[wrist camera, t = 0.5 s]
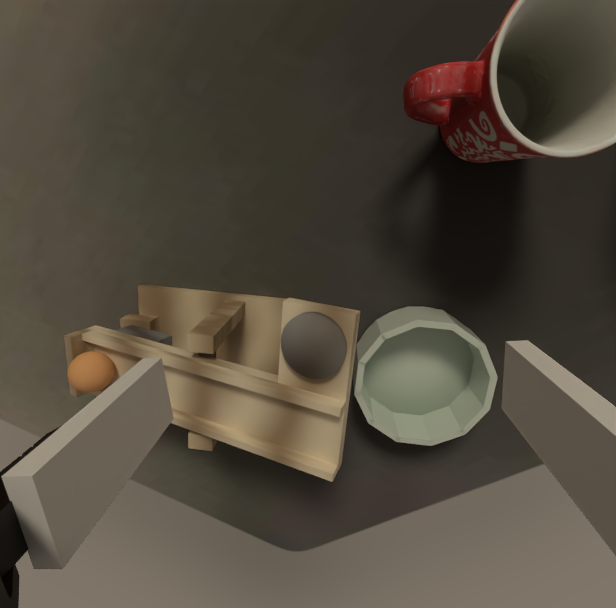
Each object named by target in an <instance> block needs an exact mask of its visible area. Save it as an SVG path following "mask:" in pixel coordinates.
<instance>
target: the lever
mask: <svg viewBox="0 0 616 608" xmlns="http://www.w3.org/2000/svg"><path fill="white" fill-rule="evenodd" d="M359 317H360V311H357V310H352V309H347V308H341V307H336V306H331V305H326V304H320V303H315V302H310V301H304V300H299V299H294V298H288V299H286V300H284V301H283V308H282V324H281V340H280V356H279V372H278V375H275V374H272V373H268V372H264V371H261V370H257V369H253V368H250V367H246V366H242V365H239V364H235V363H231V362H228V361H224V360H220V359H217V358H216V351H215V352H214V354H208V353H199V352H198V353H195V352H190V351H187V350H184V349H180V348H177V347H173V346H172V335H169V334H165V333H161V332H157V331H154V330H150V329H146V328H142V327H138V326H134V325H129V326H126V327H123V328H120V329H117V330H111V329H107V328H104V327H100V326H93V327H89V328H86V329H83V330H80V331H77V332H73V333H70V334H67V335H64V340H65V349H66V358H67V367H69V365H70V363H71V362H72V361H73V359H74V358H76V357H77V356H78V355H80V354H82V353H85V352H90V351H96V352H101V353H103V354H105V355H107V356H108V357H109V358H110V359H111V361H112V363H113V365H114V375H113V378H112V380H111V381H110V383H109V384H108V385H107V386H106V387H104V388H103V389H101V390H99V391H96V392H82V391H79V390H77V389H75V388H74V387H73V386H72V385H71V384H70V382H69V386H70V395H71V396H74V397H79V396H81V395H83V394H85V393H90V394H93V395H95V396H99V395H100V394H101V393H102V392H103V391H105V390H106V389H107V388H108V387H109V386H111V385H112V384H113V383H114V382H115V381H117V380H118V379H119V378H120V377H121V376H123V375H124V374H125V373H126V372H127V371H129V370H130V369H131V368H132V367H133V366H135V365H136V364H137V363H138V362H139V361H141V360H142V359H143V358H162V362H163V367H164V372H165V377H166V382H167V387H168V392H169V397H170V402H171V407H172V412H173V417H174V419H173V420H172V422H171V423H172V424H175V425H178V426H180V427H183V428H186V429H189V430H191V431H194V432H197V433H200V434H202V435H205V436H208V437H210V438H213V439H216V440H219V441H221V442H224V443H227V444H230V445H232V446H235V447H238V448H241V449H243V450H246V451H249V452H252V453H254V454H257V455H260V456H262V457H265V458H268V459H271V460H273V461H276V462H279V463H282V464H284V465H287V466H290V467H293V468H295V469H298V470H301V471H304V472H306V473H309V474H312V475H315V476H317V477H320V478H323V479H325V480H328V481H331V482H333V480H334V478H335V476H336V474H337V472H338V470H339V468H340V466H341V464H342V455H343V447H344V439H345V431H346V423H347V415H348V407H349V398H350V390H351V382H352V374H353V366H354V358H355V350H356V341H357V333H358V325H359Z"/></svg>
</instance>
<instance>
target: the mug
mask: <svg viewBox="0 0 616 608" xmlns="http://www.w3.org/2000/svg"><path fill="white" fill-rule="evenodd" d="M403 96H404V109H405V112H406V114H407V115H408V116H409V117H410V118H412V119H414V120H417V121H420V122H423V123H427V124H432V125H438V126H440V131H441V134H442V138H443V140H444V142H445V144H446V146H447V147H448V149H449V150H450V151H451V152H452V153H453V154H454V155H456V156H457V157H459V158H461V159H463V160H465V161H468V162H474V163H485V162H495V161H505V160H517V159H526V158H540V157H553V158H574V157H580V156H585V155H589V154H592V153H595V152H598V151H600V150H603V149H605V148H607V147H609V146H611V145H613V144H614V143H616V0H516V1H515V3H514V4H513V5H512V7H511V8H510V10H509V11H508V13H507V15H506V16H505V18H504V20H503V22H502V24H501V26H500V28H499V29H498V31H497V32H496V33H495V34H494V36H493V37H492V38H491V40H490V41H489V42H488V44H487V45H486V46H485V47H484V49H483V50H482V51H481V53H480V54H479V55H478V56H477V58H476V59H475V60H474V62H465V61H463V62H452V63H445V64H440V65H435V66H432V67H429V68H426V69H422V70H420V71H418V72H417V73H415V74H414V75H412V76H411V77H410V78H409V79H408V80H407V82H406V84H405V87H404V95H403Z"/></svg>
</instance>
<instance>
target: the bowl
mask: <svg viewBox="0 0 616 608" xmlns="http://www.w3.org/2000/svg"><path fill="white" fill-rule="evenodd" d="M496 382H497V374H496V371H495V369H494V366H493V364H492V361H491V358H490V356H489V353H488V351H487V348H486V346H485V344H484V343H483V342H482V341H481V340H480V339H479V338H478V337H477V336H476V335H475V334H474V333H473V332H472V331H471V330H470V329H469V328H468V327H466V326H465V325H463V324H462V323H461V322H459V321H458V320H457V319H456V318H454V317H453V316H451V315H450V314H448V313H447V312H445V311H444V310H441V309H435V308H432V307H425V306H408V307H404V308H399V309H396V310H393V311H391V312H389V313H387V314H385V315H383V316H381V317H380V318H378V319H376V321H375V322H373V323H372V324H371V325H370V326H369V327H368V328H367V330H366V331H365V332H364V334H363V335H362V337H361V339H360V341H359V342H358V343H357V345H356V352H355V358H354V369H353V383H354V395H355V397H356V399H357V401H358V403H359V405H360V407H361V409H362V411H363V413H364V415H365V417H366V419H367V421H368V423H369V424H370V425H372V426H373V427H375V428H376V429H378V430H379V431H381V432H382V433H384V434H385V435H387V436H388V437H390V438H391V439H393V440H394V441H396V442H402V443H410V444H419V445H427V446H433V445H436V444H439V443H442V442H445V441H448V440H450V439H453V438H456V437H459V436H462V435H465V434H466V433H467V432H468V431H469V430H470V429H471V428H472V427H473V426H474V425H475V424H476V423H477V422H478V421H479V420H480V419H481V418H482V417H483V416H484V415H485V414H486V413H487V412H488V411H489V410H490V407H491V402H492V398H493V394H494V390H495V386H496Z"/></svg>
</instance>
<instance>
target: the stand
mask: <svg viewBox="0 0 616 608" xmlns="http://www.w3.org/2000/svg"><path fill="white" fill-rule="evenodd" d="M138 300H139V314H128V315H126V316H124V317H123V318H121V319H120V327H121V328H123V327H126V326H129V325H134V326H138V327H142V328H146V329H150V330H154V331H157V332H161V333H165V334H169V335H172V346H173V347H177V348H180V349H184V350H187V351H190V352H195V353H198V352H199V353H208V354H214V352H215V351H216V358H217V359H220V360H224V361H228V362H231V363H235V364H239V365H242V366H246V367H250V368H253V369H257V370H261V371H264V372H268V373H272V374H275V375H278V372H279V356H280V340H281V324H282V308H283V301H284V300H286V299H285V298H275V297H264V296H254V295H244V294H234V293H224V292H214V291H204V290H193V289H183V288H173V287H163V286H153V285H143V284H142V285H139V286H138ZM217 441H218V440H216V439H213V438H210V437H208V436H205V435H202V434H200V433H197V432H194V431H191V430H190V431H189V433H188V448H191V449H199V450H207V451H213V449H214V447H215V445H216V443H217Z"/></svg>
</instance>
